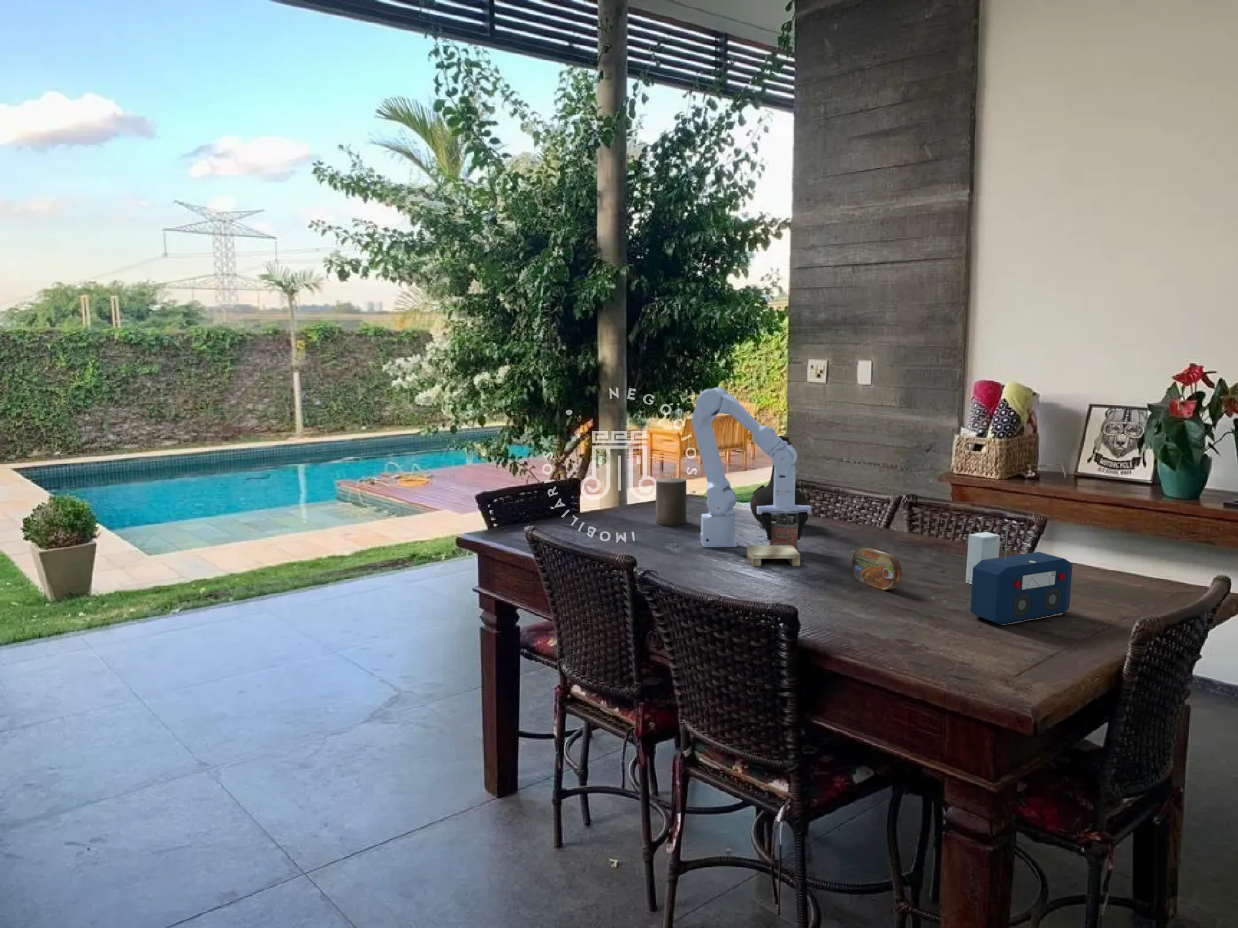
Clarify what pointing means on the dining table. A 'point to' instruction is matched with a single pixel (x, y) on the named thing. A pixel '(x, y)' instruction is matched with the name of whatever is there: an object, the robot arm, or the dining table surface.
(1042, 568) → the radio
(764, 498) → the dark brown vase
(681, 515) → the pillar candle
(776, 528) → the lighter
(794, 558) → the shelf stand
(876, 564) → the tin
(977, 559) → the skincare box
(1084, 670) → the dining table surface
